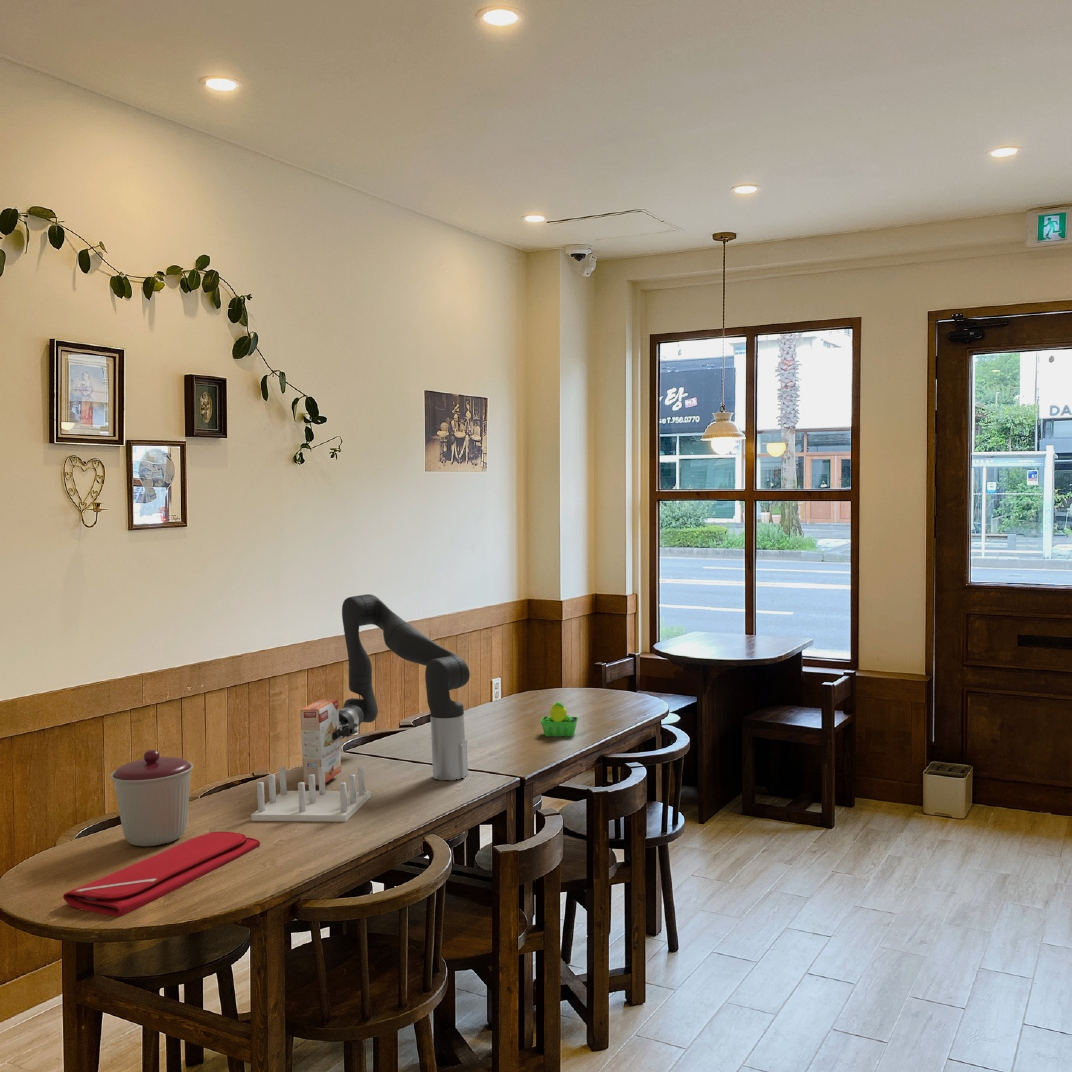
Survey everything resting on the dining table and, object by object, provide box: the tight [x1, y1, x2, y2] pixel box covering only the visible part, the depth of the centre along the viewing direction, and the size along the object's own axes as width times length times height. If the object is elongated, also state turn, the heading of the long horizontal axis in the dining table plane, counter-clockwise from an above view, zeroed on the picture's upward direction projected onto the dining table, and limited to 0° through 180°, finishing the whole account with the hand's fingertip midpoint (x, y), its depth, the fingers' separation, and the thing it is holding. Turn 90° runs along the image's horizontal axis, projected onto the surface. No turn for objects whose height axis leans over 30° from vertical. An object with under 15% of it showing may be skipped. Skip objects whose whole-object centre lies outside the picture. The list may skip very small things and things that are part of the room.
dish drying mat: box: [62, 831, 261, 918], centre depth 213 cm, size 16×41×4 cm, turn 156°
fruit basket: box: [540, 701, 579, 738], centre depth 324 cm, size 11×9×11 cm
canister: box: [109, 749, 194, 847], centre depth 236 cm, size 18×18×21 cm
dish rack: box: [250, 766, 372, 823], centre depth 255 cm, size 24×20×8 cm
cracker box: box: [299, 698, 342, 787], centre depth 277 cm, size 14×6×21 cm, turn 170°
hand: (322, 736), depth 278 cm, fingers closed on cracker box, 6 cm apart
